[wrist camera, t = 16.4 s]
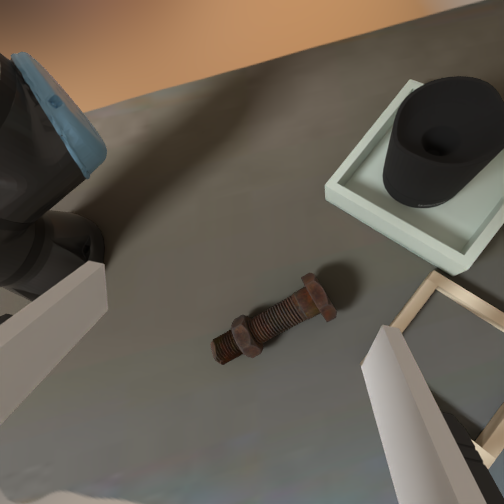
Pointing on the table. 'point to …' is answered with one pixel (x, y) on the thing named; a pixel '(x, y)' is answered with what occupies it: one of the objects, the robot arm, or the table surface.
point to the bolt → (273, 322)
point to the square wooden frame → (500, 426)
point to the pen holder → (442, 140)
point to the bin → (419, 219)
